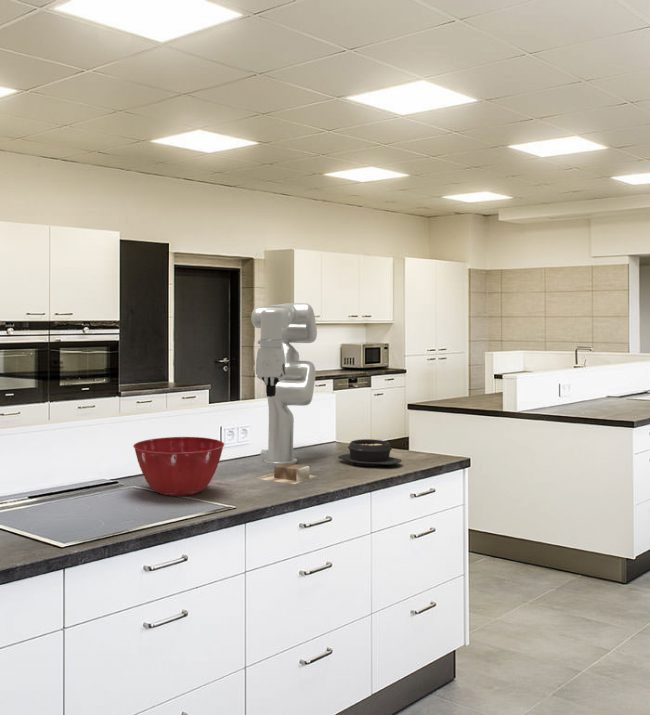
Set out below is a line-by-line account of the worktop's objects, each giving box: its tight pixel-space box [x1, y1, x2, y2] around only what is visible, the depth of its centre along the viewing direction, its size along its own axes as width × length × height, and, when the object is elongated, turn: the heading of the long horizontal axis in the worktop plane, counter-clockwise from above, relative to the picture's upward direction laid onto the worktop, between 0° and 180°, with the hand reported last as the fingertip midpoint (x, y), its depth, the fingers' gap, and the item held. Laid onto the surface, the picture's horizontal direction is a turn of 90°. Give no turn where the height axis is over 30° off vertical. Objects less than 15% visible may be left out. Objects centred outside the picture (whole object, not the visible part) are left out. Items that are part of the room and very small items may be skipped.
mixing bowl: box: [132, 436, 225, 497], centre depth 262 cm, size 28×28×16 cm
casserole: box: [337, 438, 402, 467], centre depth 315 cm, size 25×19×8 cm
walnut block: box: [273, 463, 311, 481], centre depth 283 cm, size 4×7×10 cm
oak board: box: [254, 472, 318, 485], centre depth 285 cm, size 16×16×1 cm
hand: (270, 396), depth 290 cm, fingers closed
